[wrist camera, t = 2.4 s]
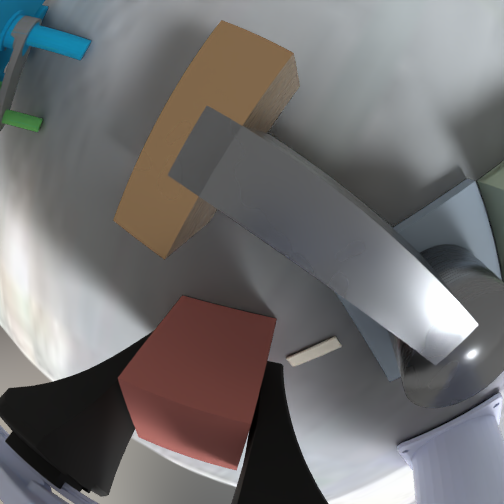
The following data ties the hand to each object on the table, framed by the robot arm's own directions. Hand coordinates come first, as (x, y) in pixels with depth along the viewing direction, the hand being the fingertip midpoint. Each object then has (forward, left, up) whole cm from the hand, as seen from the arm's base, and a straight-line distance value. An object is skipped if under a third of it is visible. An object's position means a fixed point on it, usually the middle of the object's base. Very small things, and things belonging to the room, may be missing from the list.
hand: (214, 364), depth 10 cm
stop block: (0, 0, -1) cm, 1 cm away
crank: (+1, -7, -1) cm, 8 cm away
